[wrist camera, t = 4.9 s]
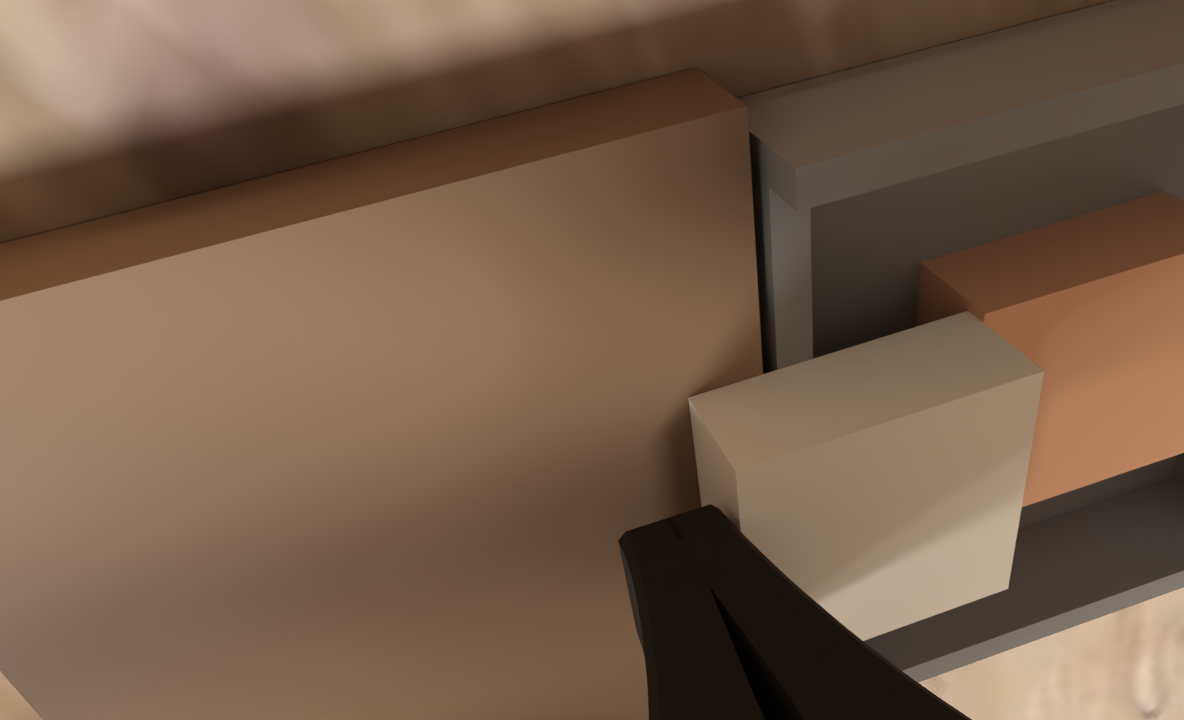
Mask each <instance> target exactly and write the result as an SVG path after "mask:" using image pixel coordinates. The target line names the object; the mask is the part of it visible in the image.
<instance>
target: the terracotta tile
mask: <svg viewBox="0 0 1184 720" xmlns="http://www.w3.org/2000/svg"><path fill="white" fill-rule="evenodd" d="M965 311H970V312H971V313H972V314H974V315H975V316H976V317H977V318H979V319H980V320H981V321H982V322H984V323H985V324H986V325H987V326H989V327H990V328H991V329H992V330H994V331H995V332H996V333H997V334H999V335H1000V336H1001V337H1002V338H1004V339H1005V340H1006V341H1007V342H1009V343H1010V344H1011V345H1012V346H1014V347H1015V348H1016V349H1017V350H1019V351H1020V352H1021V353H1022V354H1024V355H1025V356H1026V357H1027V358H1029V359H1030V360H1031V361H1032V362H1034V363H1035V364H1036V365H1037V366H1039V367H1040V368H1041V369H1042V370H1044V376H1043V382H1042V388H1041V394H1040V400H1039V406H1038V412H1037V418H1036V424H1035V430H1034V436H1033V442H1032V448H1031V454H1030V460H1029V466H1028V472H1027V478H1026V484H1025V490H1024V496H1023V502H1022V507H1024V506H1027V505H1030V504H1033V503H1036V502H1039V501H1042V500H1045V499H1048V498H1051V497H1054V496H1057V495H1060V494H1063V493H1066V492H1069V491H1072V490H1075V489H1078V488H1081V487H1084V486H1087V485H1090V484H1093V483H1096V482H1099V481H1101V480H1104V479H1107V478H1110V477H1113V476H1116V475H1119V474H1122V473H1125V472H1128V471H1131V470H1134V469H1137V468H1140V467H1143V466H1146V465H1149V464H1152V463H1155V462H1158V461H1161V460H1164V459H1167V458H1170V457H1173V456H1176V455H1179V454H1182V453H1184V201H1183V200H1181V199H1179V198H1177V197H1175V196H1173V195H1171V194H1169V193H1167V192H1165V191H1163V192H1159V193H1156V194H1152V195H1149V196H1146V197H1142V198H1139V199H1135V200H1132V201H1129V202H1125V203H1122V204H1118V205H1115V206H1112V207H1108V208H1105V209H1101V210H1098V211H1095V212H1091V213H1088V214H1084V215H1081V216H1078V217H1074V218H1071V219H1067V220H1064V221H1060V222H1057V223H1054V224H1050V225H1047V226H1043V227H1040V228H1037V229H1033V230H1030V231H1026V232H1023V233H1020V234H1016V235H1013V236H1009V237H1006V238H1003V239H999V240H996V241H992V242H989V243H986V244H982V245H979V246H975V247H972V248H968V249H965V250H962V251H958V252H955V253H951V254H948V255H945V256H941V257H938V258H934V259H931V260H928V261H924V262H921V263H920V279H919V296H918V312H917V326H920V325H923V324H927V323H930V322H933V321H936V320H940V319H943V318H946V317H949V316H952V315H956V314H959V313H962V312H965Z"/></svg>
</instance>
